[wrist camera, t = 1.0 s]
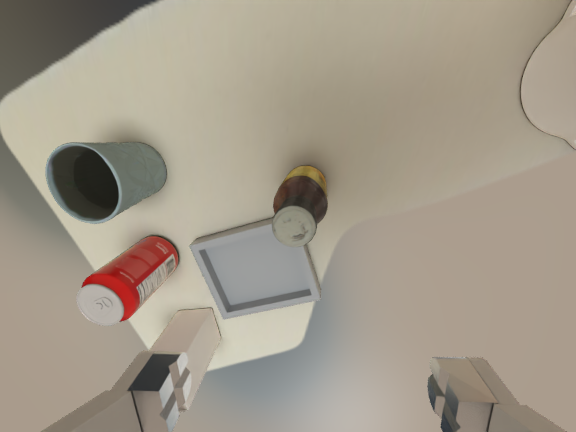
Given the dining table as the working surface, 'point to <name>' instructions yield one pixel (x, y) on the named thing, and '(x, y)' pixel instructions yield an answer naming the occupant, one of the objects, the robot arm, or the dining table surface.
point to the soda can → (127, 281)
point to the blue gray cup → (103, 178)
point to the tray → (254, 270)
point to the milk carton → (191, 343)
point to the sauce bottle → (299, 206)
